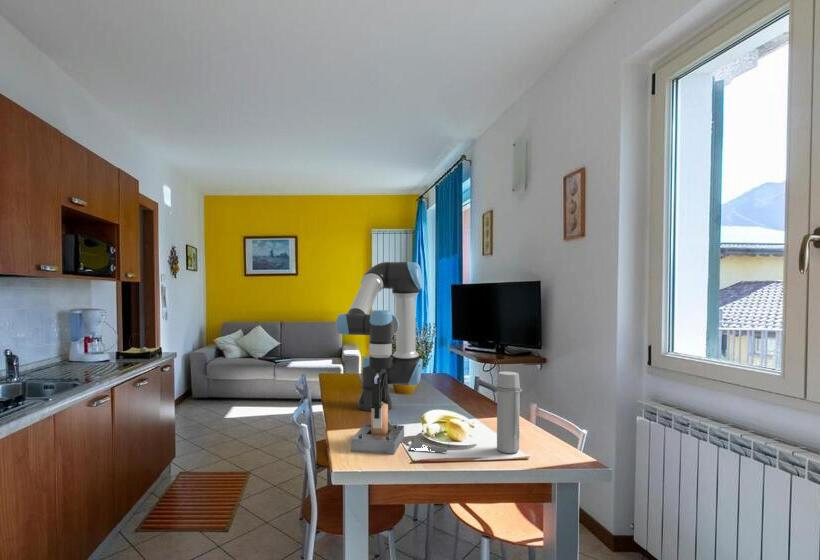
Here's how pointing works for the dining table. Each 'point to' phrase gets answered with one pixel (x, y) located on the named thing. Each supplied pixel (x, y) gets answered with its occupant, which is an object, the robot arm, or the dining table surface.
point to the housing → (377, 440)
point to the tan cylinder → (384, 421)
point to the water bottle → (508, 412)
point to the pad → (417, 444)
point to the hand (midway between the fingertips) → (379, 425)
